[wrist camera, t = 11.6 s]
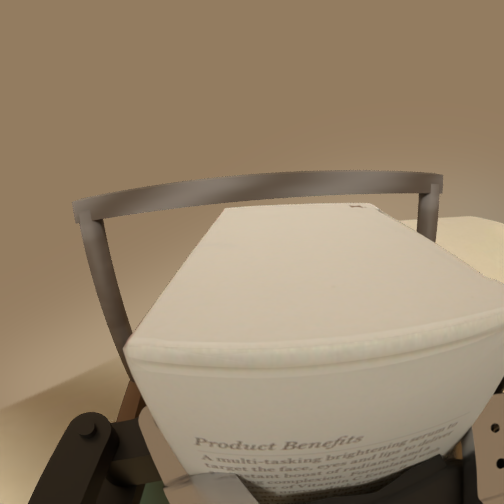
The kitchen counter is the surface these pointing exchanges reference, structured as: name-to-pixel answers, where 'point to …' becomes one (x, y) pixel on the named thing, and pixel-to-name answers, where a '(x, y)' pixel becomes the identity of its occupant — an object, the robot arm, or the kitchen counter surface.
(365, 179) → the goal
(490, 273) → the kitchen counter surface
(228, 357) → the small box
